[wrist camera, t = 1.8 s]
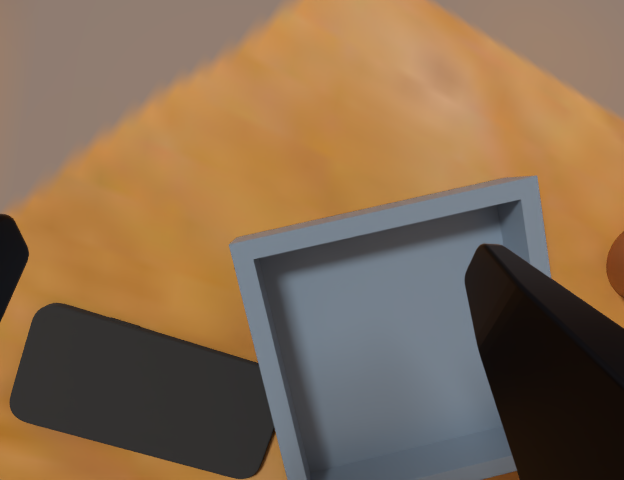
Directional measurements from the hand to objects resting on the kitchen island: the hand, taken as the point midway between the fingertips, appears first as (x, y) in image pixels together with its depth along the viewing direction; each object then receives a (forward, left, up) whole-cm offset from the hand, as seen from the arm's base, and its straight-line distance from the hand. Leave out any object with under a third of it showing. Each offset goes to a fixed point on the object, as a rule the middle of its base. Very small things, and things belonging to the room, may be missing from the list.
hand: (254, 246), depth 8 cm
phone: (-9, +10, -15) cm, 20 cm away
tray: (-9, -5, -15) cm, 18 cm away
